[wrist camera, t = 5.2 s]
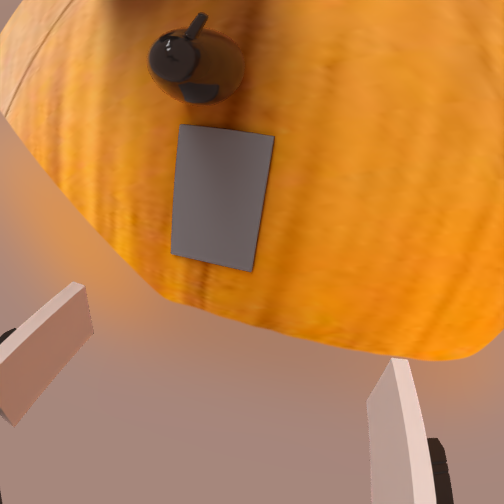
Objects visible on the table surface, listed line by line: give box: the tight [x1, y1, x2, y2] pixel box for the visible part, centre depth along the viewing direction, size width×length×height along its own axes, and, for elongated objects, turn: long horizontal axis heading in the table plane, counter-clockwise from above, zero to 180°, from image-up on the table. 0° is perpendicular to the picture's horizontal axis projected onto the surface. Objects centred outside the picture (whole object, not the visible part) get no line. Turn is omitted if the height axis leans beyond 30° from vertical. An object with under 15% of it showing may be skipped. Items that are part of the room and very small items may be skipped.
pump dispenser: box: [147, 12, 245, 106], centre depth 29 cm, size 10×10×15 cm
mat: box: [171, 124, 275, 272], centre depth 43 cm, size 13×20×1 cm, turn 172°
